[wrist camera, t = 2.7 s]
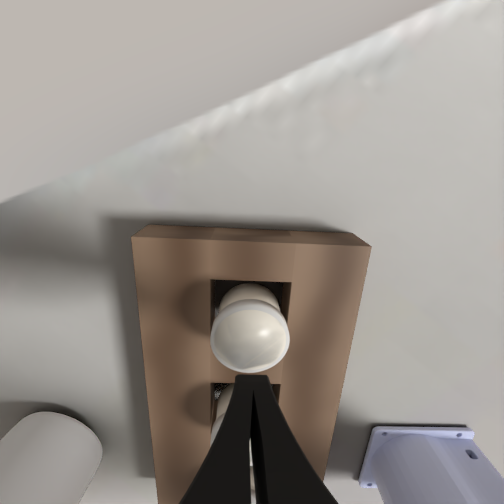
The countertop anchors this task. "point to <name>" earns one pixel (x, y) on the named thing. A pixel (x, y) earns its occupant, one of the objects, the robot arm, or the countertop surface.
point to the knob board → (201, 321)
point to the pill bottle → (47, 460)
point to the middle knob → (223, 412)
